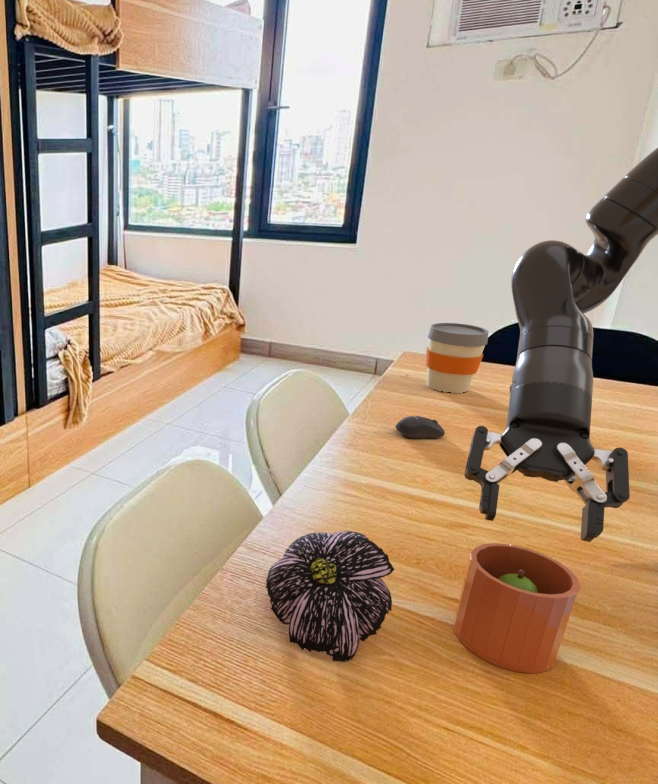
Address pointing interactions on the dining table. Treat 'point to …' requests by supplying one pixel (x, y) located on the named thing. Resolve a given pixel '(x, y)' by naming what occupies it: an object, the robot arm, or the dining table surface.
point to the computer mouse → (419, 428)
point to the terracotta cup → (515, 607)
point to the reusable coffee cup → (454, 355)
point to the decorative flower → (331, 591)
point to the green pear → (519, 581)
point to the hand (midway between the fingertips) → (537, 528)
